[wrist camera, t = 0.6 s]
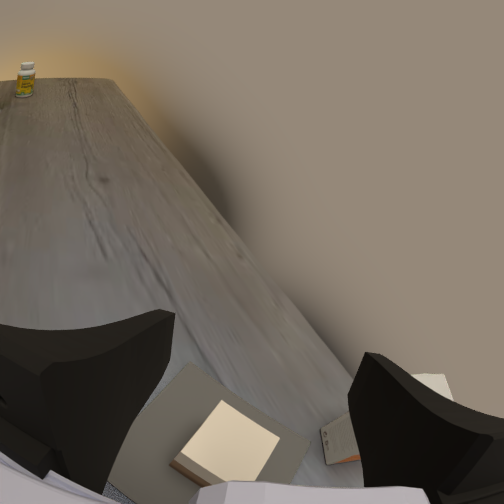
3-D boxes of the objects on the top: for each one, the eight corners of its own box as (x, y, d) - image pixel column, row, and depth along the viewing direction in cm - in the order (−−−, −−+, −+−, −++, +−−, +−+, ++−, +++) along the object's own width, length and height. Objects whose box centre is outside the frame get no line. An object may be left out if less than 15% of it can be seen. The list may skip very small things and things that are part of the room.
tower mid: (232, 496, 17) (246, 493, 15) (173, 459, 18) (180, 451, 16) (263, 447, 21) (280, 437, 19) (210, 413, 22) (221, 399, 20)
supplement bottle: (28, 91, 63) (33, 60, 57) (35, 95, 62) (39, 63, 56) (13, 95, 58) (16, 62, 53) (18, 99, 57) (22, 65, 52)
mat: (238, 563, 15) (240, 563, 14) (89, 465, 17) (89, 465, 17) (309, 443, 26) (311, 442, 25) (189, 363, 28) (190, 361, 28)
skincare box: (325, 466, 24) (415, 422, 17) (318, 428, 27) (399, 372, 20) (372, 459, 26) (459, 412, 19) (364, 425, 29) (444, 370, 22)
